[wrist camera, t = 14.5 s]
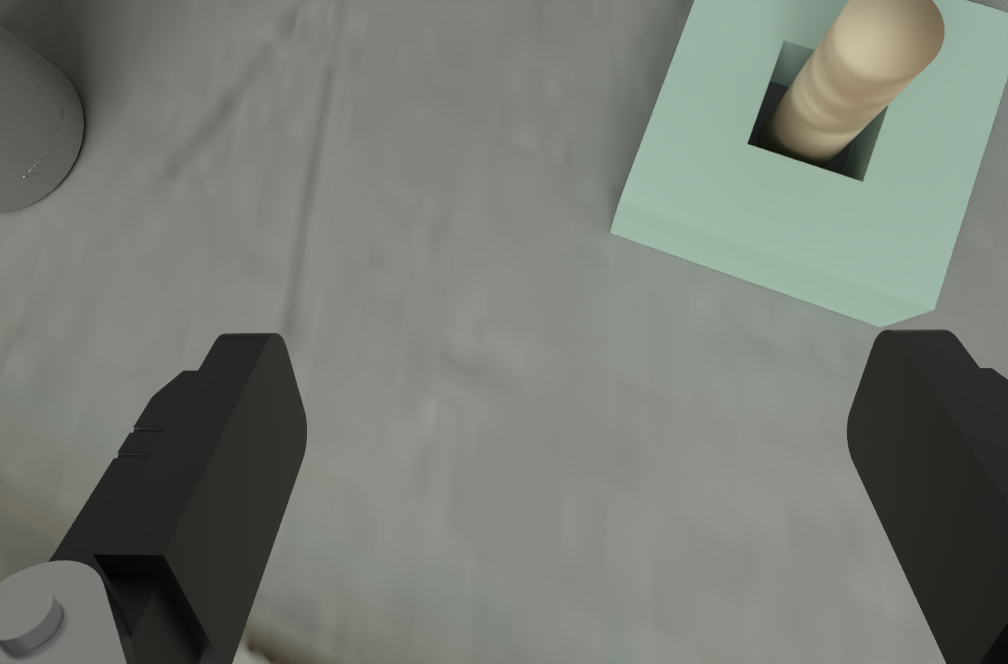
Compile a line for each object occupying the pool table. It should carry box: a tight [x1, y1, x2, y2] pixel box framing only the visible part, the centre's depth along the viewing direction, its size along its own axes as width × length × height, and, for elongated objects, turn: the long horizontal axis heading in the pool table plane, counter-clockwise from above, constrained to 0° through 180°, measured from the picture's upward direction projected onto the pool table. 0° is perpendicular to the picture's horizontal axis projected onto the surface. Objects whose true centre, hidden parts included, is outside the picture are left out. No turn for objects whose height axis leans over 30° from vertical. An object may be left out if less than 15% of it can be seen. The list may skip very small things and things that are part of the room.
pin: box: [758, 0, 945, 169], centre depth 30 cm, size 4×4×10 cm
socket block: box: [610, 0, 1008, 327], centre depth 34 cm, size 14×14×5 cm
